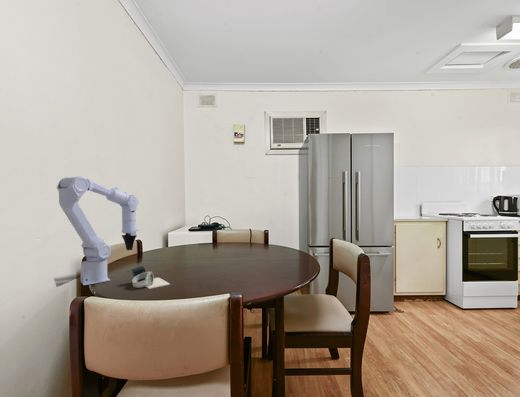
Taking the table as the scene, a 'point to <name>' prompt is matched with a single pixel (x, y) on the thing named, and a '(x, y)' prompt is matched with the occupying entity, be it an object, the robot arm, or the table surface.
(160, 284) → the mat
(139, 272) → the watch
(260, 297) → the table surface
